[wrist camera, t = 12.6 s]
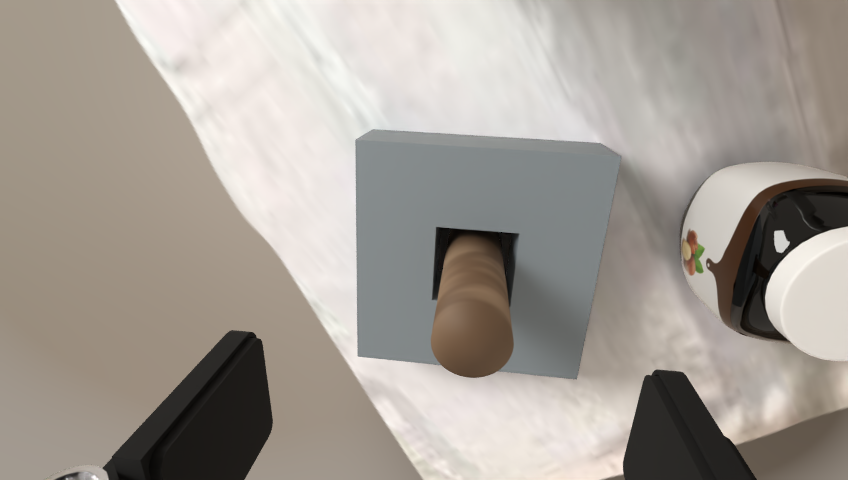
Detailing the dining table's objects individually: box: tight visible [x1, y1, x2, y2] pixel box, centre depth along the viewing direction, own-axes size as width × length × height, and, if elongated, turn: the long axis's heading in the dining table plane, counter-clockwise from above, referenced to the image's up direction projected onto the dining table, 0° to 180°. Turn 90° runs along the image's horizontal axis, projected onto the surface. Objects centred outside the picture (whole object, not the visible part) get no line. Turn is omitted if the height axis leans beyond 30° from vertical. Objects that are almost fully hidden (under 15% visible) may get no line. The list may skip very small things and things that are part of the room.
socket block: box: [356, 130, 621, 379], centre depth 33 cm, size 16×16×5 cm
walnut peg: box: [431, 228, 514, 378], centre depth 29 cm, size 4×4×14 cm
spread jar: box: [680, 162, 848, 361], centre depth 27 cm, size 12×11×12 cm
